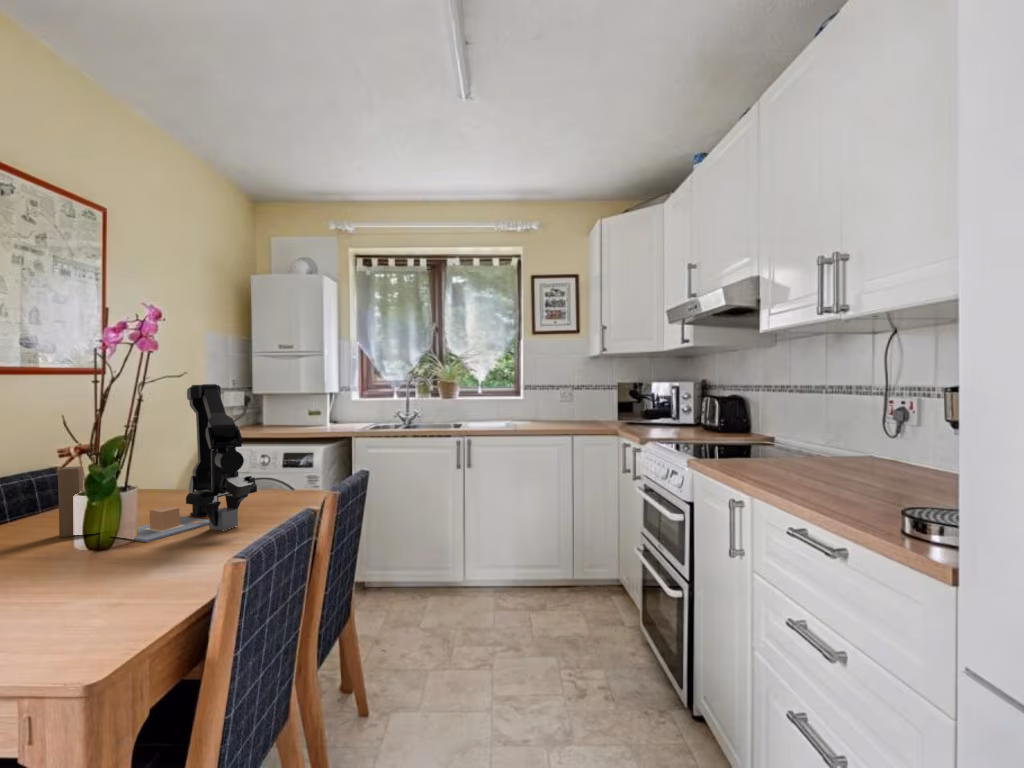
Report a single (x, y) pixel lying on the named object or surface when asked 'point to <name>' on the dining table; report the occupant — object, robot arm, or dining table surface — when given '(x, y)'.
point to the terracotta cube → (164, 518)
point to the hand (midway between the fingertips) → (223, 523)
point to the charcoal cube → (225, 519)
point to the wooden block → (68, 497)
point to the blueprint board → (152, 534)
